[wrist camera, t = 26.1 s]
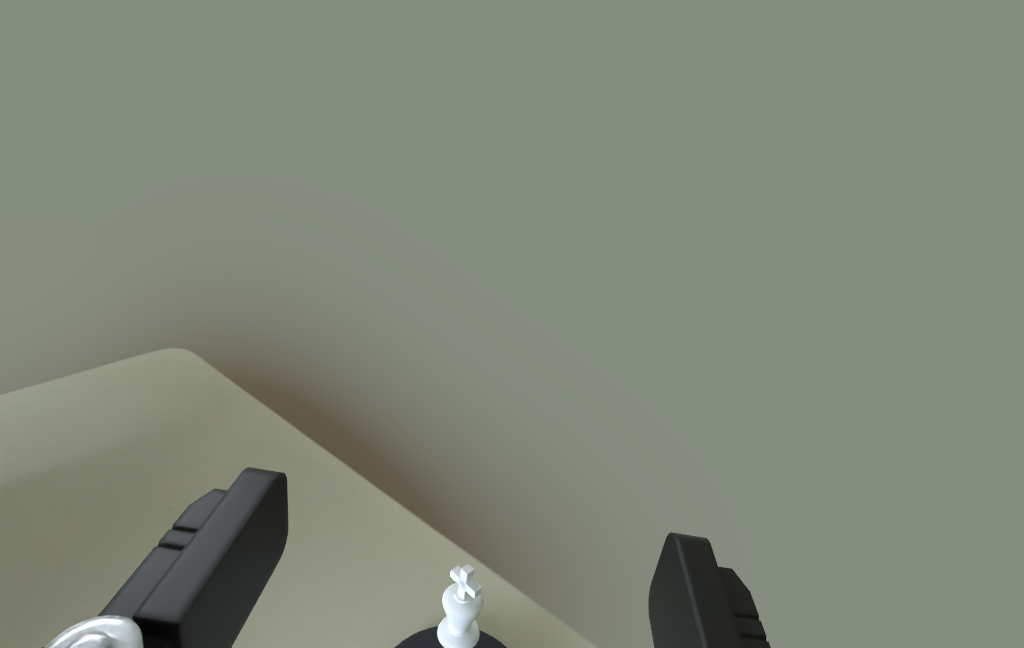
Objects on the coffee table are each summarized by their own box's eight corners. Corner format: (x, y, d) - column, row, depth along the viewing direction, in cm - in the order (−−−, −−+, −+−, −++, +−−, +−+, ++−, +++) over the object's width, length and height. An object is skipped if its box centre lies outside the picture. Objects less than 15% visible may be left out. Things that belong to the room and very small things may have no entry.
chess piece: (444, 772, 29) (465, 636, 24) (384, 698, 32) (393, 563, 27) (512, 703, 32) (540, 573, 28) (452, 642, 35) (469, 515, 31)
